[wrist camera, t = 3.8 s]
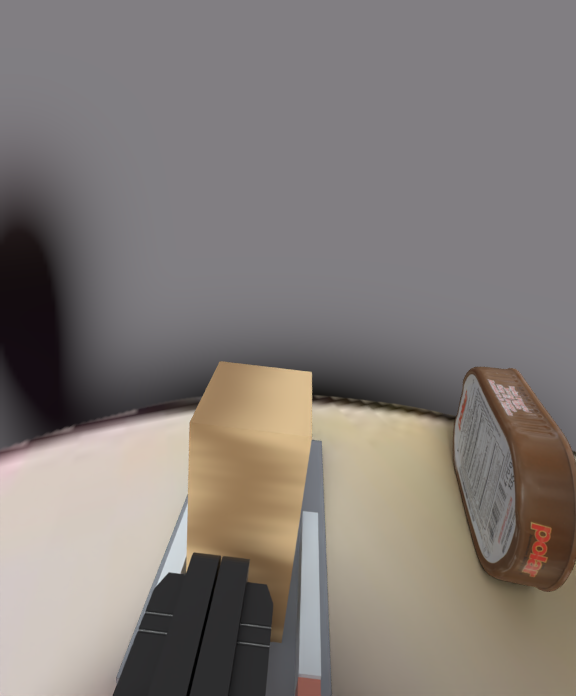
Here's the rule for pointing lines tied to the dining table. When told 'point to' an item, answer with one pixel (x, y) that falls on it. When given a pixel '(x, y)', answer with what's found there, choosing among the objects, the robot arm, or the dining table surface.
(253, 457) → the oak block
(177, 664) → the robot arm
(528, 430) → the tin
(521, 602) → the dining table surface
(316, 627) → the long grey tray
